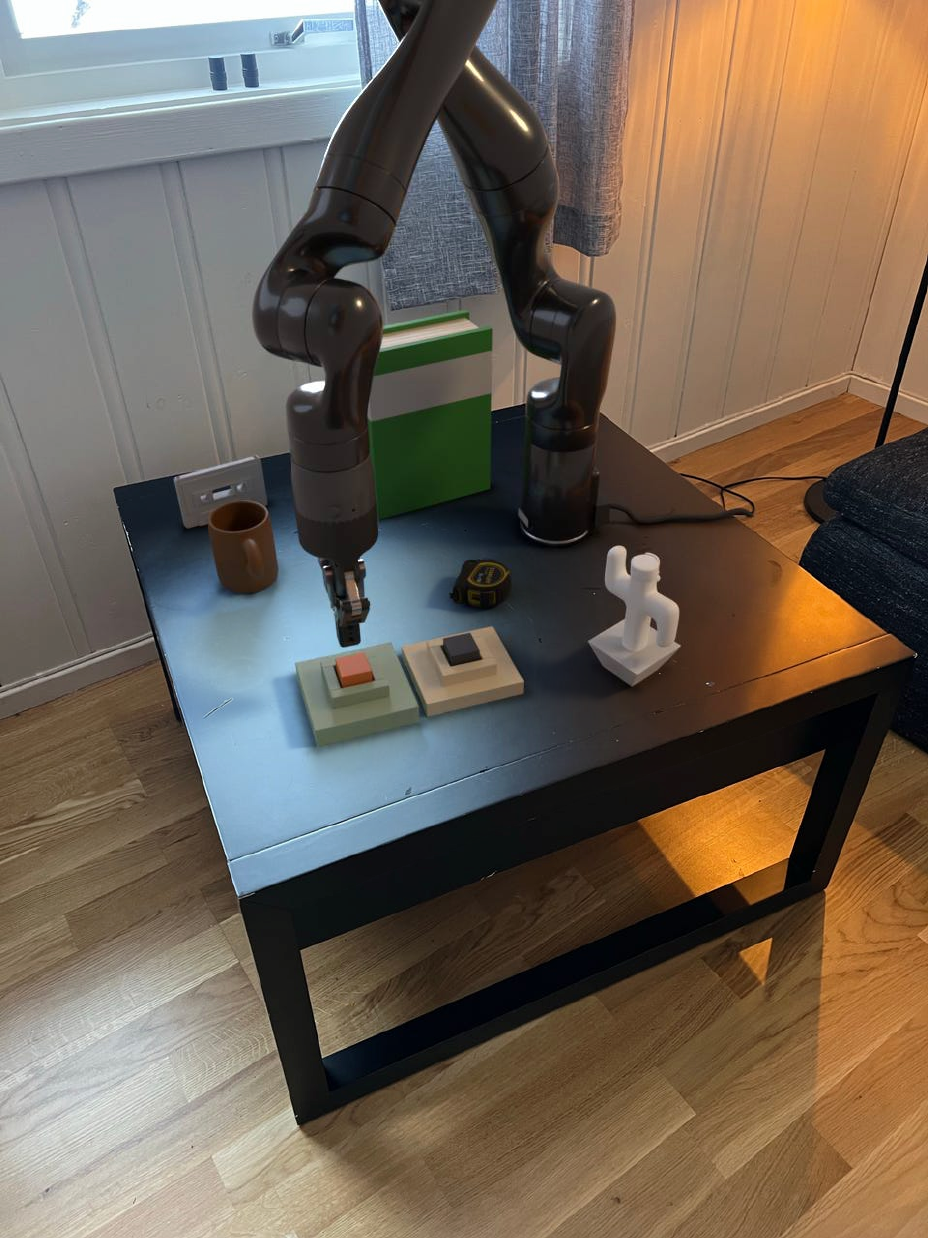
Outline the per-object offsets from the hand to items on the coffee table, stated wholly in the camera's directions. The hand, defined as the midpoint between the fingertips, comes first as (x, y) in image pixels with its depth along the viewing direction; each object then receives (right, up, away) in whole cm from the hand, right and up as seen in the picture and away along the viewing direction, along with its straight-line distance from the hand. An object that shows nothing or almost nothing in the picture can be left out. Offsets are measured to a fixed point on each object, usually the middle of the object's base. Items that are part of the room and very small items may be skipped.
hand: (349, 641), depth 96 cm
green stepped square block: (0, -6, +5) cm, 8 cm away
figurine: (+31, -3, +9) cm, 32 cm away
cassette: (-21, +17, +34) cm, 44 cm away
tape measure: (+14, +5, +20) cm, 24 cm away
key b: (0, -4, +3) cm, 5 cm away
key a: (+12, -2, +6) cm, 13 cm away
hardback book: (+6, +21, +39) cm, 45 cm away
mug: (-15, +6, +21) cm, 27 cm away
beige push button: (+12, -4, +8) cm, 15 cm away
